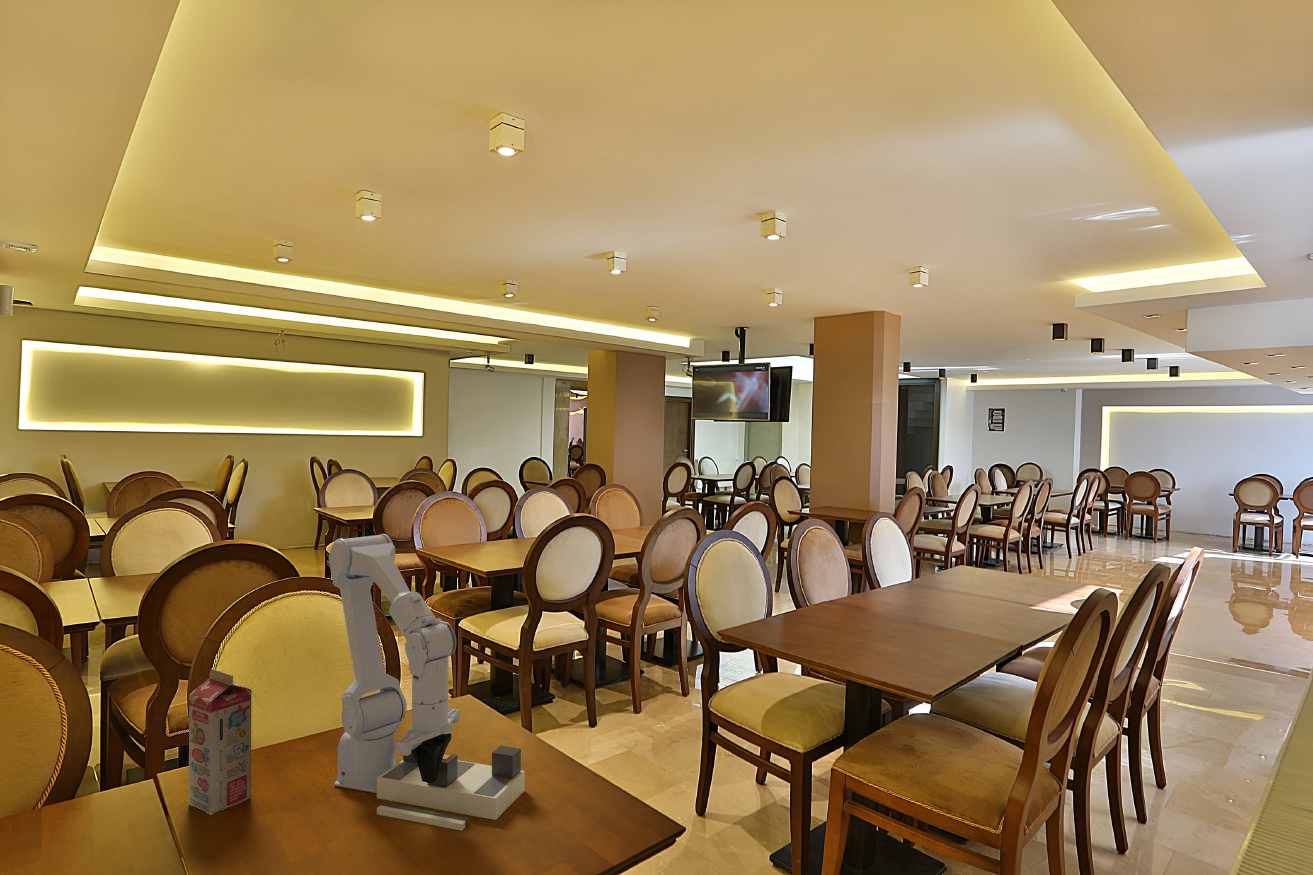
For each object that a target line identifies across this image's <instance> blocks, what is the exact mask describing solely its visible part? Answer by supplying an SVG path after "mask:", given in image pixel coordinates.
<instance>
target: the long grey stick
mask: <svg viewBox="0 0 1313 875" xmlns="http://www.w3.org/2000/svg"><path fill="white" fill-rule="evenodd" d="M376 815H379V816H384V817H389V818H395V819H399V820H405V821H409V822H416V823H419V824H420V823H421V824H426V825H432V826H436V827H442V828H448V829H452V830H457V831H463V830H465V828H466V827H468V825H469V817H465V816H459V815H454V814H453V815H452V814H450V813H449V814H448V813H443V812H438V811H437V812H436V811H432V810H428V809H427V810H426V809H421V808H417V807H410V806H406V805H400V804H393V803H387V802H383V803H382V804H381V805H379V806H378V807H376Z"/></svg>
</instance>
